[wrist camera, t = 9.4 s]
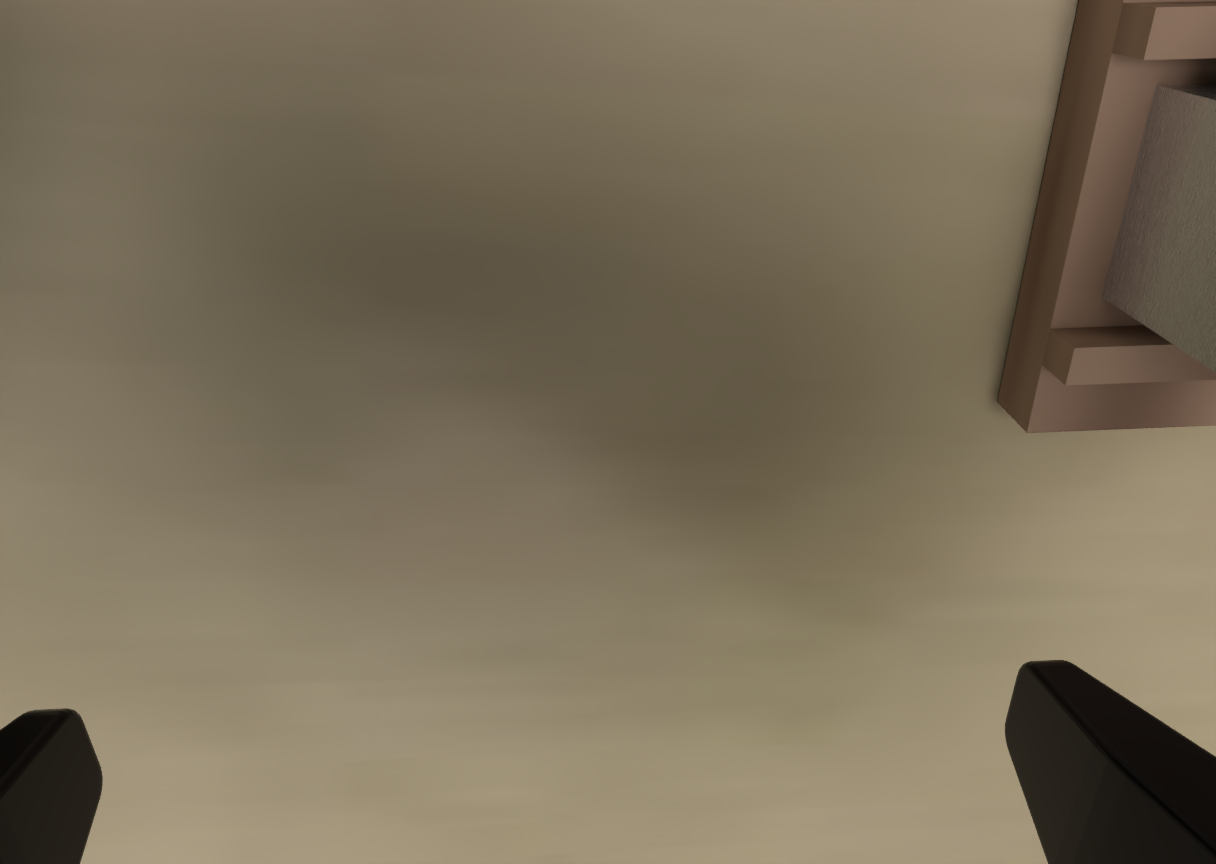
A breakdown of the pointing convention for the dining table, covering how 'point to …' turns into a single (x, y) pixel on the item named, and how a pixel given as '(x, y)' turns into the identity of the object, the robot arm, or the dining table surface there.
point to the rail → (1104, 233)
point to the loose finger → (1172, 224)
